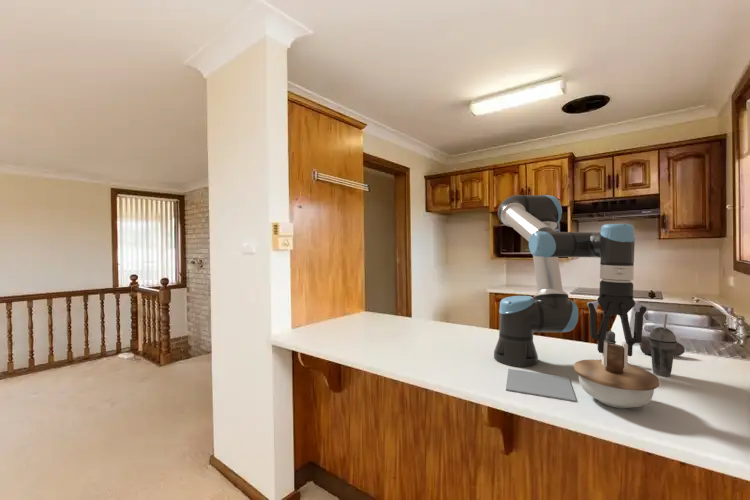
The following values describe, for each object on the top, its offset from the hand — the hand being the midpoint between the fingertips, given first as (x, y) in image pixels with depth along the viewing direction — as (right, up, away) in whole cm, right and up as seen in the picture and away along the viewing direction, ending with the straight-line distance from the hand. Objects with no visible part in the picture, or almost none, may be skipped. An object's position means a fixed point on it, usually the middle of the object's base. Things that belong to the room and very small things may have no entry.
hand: (614, 365), depth 95 cm
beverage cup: (+30, -10, +20) cm, 38 cm away
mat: (-15, -9, +12) cm, 21 cm away
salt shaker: (+21, -10, +33) cm, 40 cm away
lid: (0, -3, 0) cm, 3 cm away
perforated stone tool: (+46, -10, +41) cm, 62 cm away
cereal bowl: (0, -10, 0) cm, 10 cm away
